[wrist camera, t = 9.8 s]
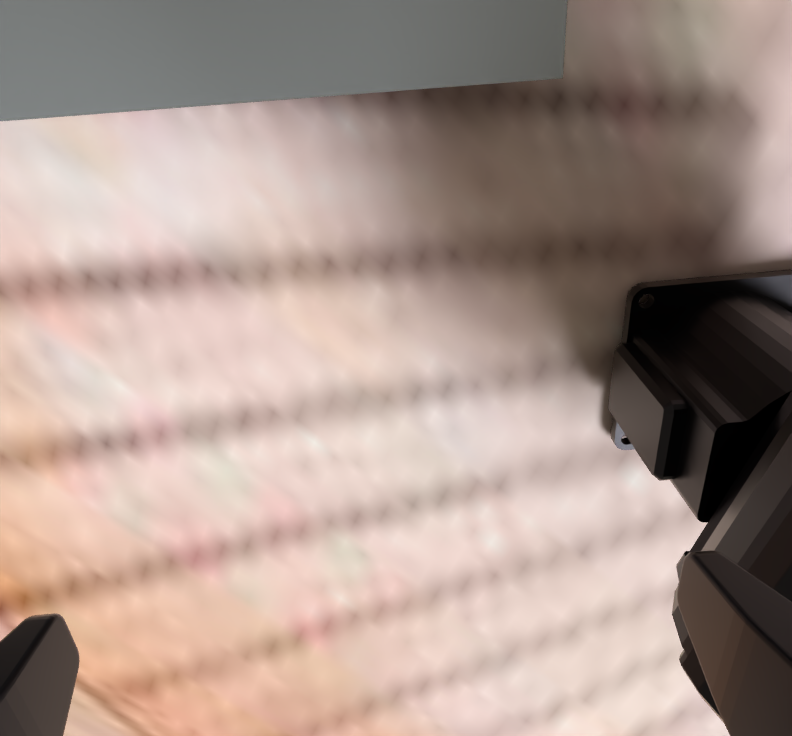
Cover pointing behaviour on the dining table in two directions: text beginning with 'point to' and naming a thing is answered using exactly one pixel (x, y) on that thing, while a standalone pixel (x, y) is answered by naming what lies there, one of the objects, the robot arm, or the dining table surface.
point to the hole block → (262, 50)
